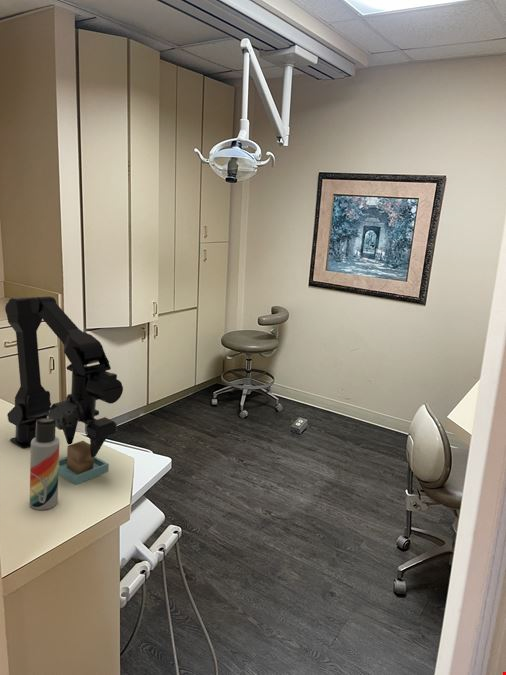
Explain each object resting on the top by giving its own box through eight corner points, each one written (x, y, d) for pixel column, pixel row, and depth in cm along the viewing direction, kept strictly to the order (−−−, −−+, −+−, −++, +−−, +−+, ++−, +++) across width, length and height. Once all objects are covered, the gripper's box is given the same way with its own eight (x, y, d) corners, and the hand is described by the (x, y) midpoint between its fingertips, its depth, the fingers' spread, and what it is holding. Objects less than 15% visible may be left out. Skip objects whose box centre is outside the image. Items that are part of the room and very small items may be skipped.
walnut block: (81, 462, 128) (82, 440, 127) (93, 468, 126) (94, 446, 124) (66, 467, 125) (67, 445, 123) (78, 474, 122) (79, 452, 121)
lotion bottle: (29, 512, 107) (31, 425, 102) (29, 497, 112) (31, 414, 107) (58, 508, 109) (61, 423, 104) (56, 494, 114) (59, 413, 109)
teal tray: (51, 469, 124) (51, 462, 123) (84, 457, 132) (84, 450, 131) (75, 484, 119) (75, 477, 118) (108, 470, 127) (108, 463, 126)
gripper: (30, 387, 119) (29, 447, 122) (80, 411, 109) (77, 475, 112) (70, 378, 128) (68, 434, 131) (120, 399, 118) (116, 459, 122)
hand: (81, 450), depth 124 cm, fingers open, 9 cm apart
